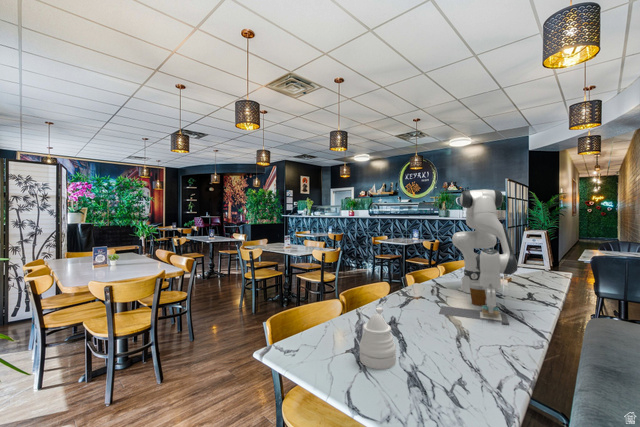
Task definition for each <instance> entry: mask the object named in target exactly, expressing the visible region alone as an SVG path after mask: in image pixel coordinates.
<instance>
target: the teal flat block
mask: <svg viewBox="0 0 640 427" xmlns="http://www.w3.org/2000/svg"><path fill="white" fill-rule="evenodd" d="M481 311H482V313H484V314H492V315H499V313H500V308H499V306H496V307H493V313H489V308H488V306H487V305H482V306H481Z"/></svg>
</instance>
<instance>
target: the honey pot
mask: <svg viewBox="0 0 640 427" xmlns="http://www.w3.org/2000/svg"><path fill="white" fill-rule="evenodd" d="M375 310H376V313H373V314H372V315H371V316H370V318H369V319H368V321H367V322H366V323H364V324H363V325H362V328H363V330H364V332H363V333H362V337H361V340H360V343H359V361H360V362H361V363H362V365H364V366H366V367H367V368H371V369H376V370H385V369H391V368H393V367H394V366H395V365H397V364H396V363H397V352H396V351H397V347H396V346H397V345H396V344H395V341H394V337H393V334H392V333H391V331H392V326H391V325H389V324H388V323H387V322H386V320H385V318H384V317H383V316H382V313H383V312H384V311H383V310H384V307H380V306H379V307H376V308H375Z"/></svg>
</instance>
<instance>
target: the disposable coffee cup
mask: <svg viewBox="0 0 640 427" xmlns="http://www.w3.org/2000/svg"><path fill="white" fill-rule="evenodd" d="M469 287H470V293H471V294H470V293H469V294H470V299H471V304H472V305H474V306H480V307H482V305H484V306H486V304H487V302H486V295H485V290H484V289H483V287H482V286H480V282H471V283H470V284H469Z"/></svg>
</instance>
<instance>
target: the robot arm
mask: <svg viewBox="0 0 640 427" xmlns="http://www.w3.org/2000/svg"><path fill="white" fill-rule="evenodd" d="M503 202H504V195H503V193H502V191H501V190H498V189H487V188H486V189H472V190H470V189H468V190H467V189H466V190H463V191H461V194H460V197H459V203H460V205H461V206H462V208H465V209H466V218H465V223H466V224H465V225H467V226H468V227H469V228H471V229H473V230H474V231H470V230H469V231H465V230H464V231H458V232H455V233H453V235H452V238H451V242H452V245H453V246H454V247H456V248H457V249H458V250H459V251H460V253H461V254H462V257H463V263H464V269H463V276H462V277H461V280H460V281H461V286H460V287H458V291H460V292H463V293H467V294H470V295H471V293H470V287H469V284H470V283H471V282H480V286H482V287H483V289H484V290H485V295H486V306H488V308H489V313H493V307H497V295H496V293H497V291H499V290H498V289H500V288H501V287H502V284H501V282H502V281H501V280H502V279H501V278H502V277H501V274H502V275H509V276H511V275H513V274H515V273H517V271H518V267H519V266H518V265H519V264H518V261H517V259H516V256H515V252H514V250H513V247H512V243H511V240H510V236H509V233H508V230H507V227H506V226H505V224H503V223H501V222H500V220H499V219H498V215H497V208H501V206H502V205H503ZM497 238H498V240H499V241H500V245H501V249H502V254H500V253H499V251H498V250H497V249H494V247H495V246H496V245H497ZM474 249H481V251H480V253H479V254H478V253H477V252H474Z"/></svg>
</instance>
